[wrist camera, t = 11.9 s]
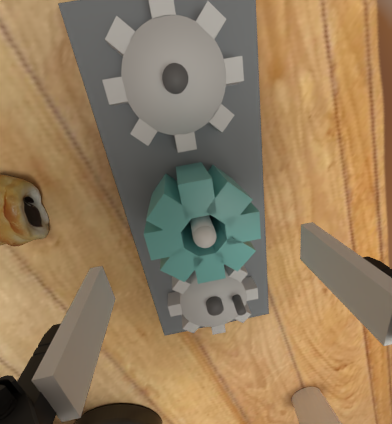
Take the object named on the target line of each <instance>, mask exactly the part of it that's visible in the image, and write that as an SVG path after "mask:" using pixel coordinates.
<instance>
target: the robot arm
mask: <svg viewBox="0 0 392 424" xmlns="http://www.w3.org/2000/svg"><path fill="white" fill-rule="evenodd" d="M300 259H301V260H302V261H303V262H304V263H305V264H306V265H307V267H308V268H309V269H310V270H311V271H312V272H313V273H314V274H315V275H316V276H317V277H318V278H319V279H320V280H321V281H322V282H323V283H324V284H325V285H326V286H327V287H328V288H329V289H330V290H331V292H332V293H333V294H334V295H335V296H336V297H337V298H338V299H339V300H340V301H341V302H342V303H343V304H344V305H345V306H346V307H347V308H348V309H349V310H350V311H351V312H352V313H353V314H354V315H355V316H356V318H357V319H358V320H359V321H360V322H361V323H362V324H363V325H364V326H365V327H366V328H367V329H368V330H369V331H370V332H371V333H372V334H373V335H374V336H375V337H376V338H377V339H378V340H379V341H380V342H381V344H382V345H383V346H386V345H390V344H392V269H390V268H389V267H388V266H386V265H385V264H383V263H382V262H380V261H378V260H376V259H373V258H370V257H363V258H362V257H361V256H360V255H358V254H357V253H355V252H354V251H352V250H351V249H350V248H348V247H347V246H345V245H344V244H342V243H341V242H340V241H338V240H337V239H335V238H334V237H332V236H331V235H330V234H328V233H327V232H325V231H324V230H322V229H321V228H320V227H318V226H317V225H315V224H314V223H313V222H312V223H307V224H302V225H301V256H300ZM114 302H115V296H114V294H113V291H112V289H111V286H110V284H109V281H108V279H107V276H106V274H105V271H104V269H103V266H99V267H94V268H90V269H89V271H88V273H87V275H86V277H85V279H84V281H83V283H82V285H81V287H80V289H79V290H78V292H77V294H76V296H75V298H74V300H73V302H72V304H71V306H70V308H69V310H68V311H67V313H66V315H65V317H64V319H63V321H62V323H61V324H57V325H53V326H52V327H51V328H50V329H49V330H48V331H47V333H46V334H45V335H44V336H43V338H42V340H41V341H40V343H39V345H38V348H36V350H35V352H34V353H33V356H32V357H31V359H30V360H29V362H28V364H27V366H26V367H25V369H24V371H23V373H22V374H21V376H20V378H19V379H18V381H16V380H15V378H14V377H13V376H4V377H1V378H0V424H53V421H54V418H55V416H56V415H57V416H58V418H59V419H60V420H61V422H64V421H69V420H73V419H77V418H79V419H78V420H77V421H76V422H75V423H74V424H162V421H161V419H160V417H159V416H158V415H157V414H156V413H154V412H153V411H151V410H149V409H147V408H144V407H141V406H136V405H127V404H117V405H108V406H103V407H100V408H96V409H94V410H91V411H89V412H87V413H85V414H84V415H82V412H83V408H84V405H85V401H86V398H87V394H88V391H89V388H90V384H91V381H92V377H93V374H94V370H95V367H96V364H97V360H98V357H99V353H100V350H101V346H102V343H103V340H104V336H105V333H106V329H107V326H108V323H109V319H110V316H111V312H112V309H113V305H114ZM81 415H82V416H81Z"/></svg>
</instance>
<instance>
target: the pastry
mask: <svg viewBox="0 0 392 424" xmlns="http://www.w3.org/2000/svg"><path fill="white" fill-rule="evenodd" d="M48 223H49V218H48V214H47V213H46V211H45V208H44V207H43V205H42V204H41V196H40V193H39V190H38V189H37V188H36V187H35V186H34V185H33V184H32V183H30V182H28V181H26V180H23V179H20V178H16V177H12V176H7V175H0V245H3V244H6V243H7V244H8V245H11V246H20V245H23V244H25V243H27V242H29V241H32V240H36V239H44V238H45V237H46V236H47V235H48V232H49V230H48V228H49V225H48Z"/></svg>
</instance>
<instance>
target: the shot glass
mask: <svg viewBox="0 0 392 424" xmlns="http://www.w3.org/2000/svg"><path fill="white" fill-rule="evenodd" d="M292 403H293V406H294V409H295V412H296V415H297V418H298V421H299V424H342V423H341V422H340V420H339V419H338V417H337V416H336V414H335V413H334V411H333V409H332V408H331V406H330V405H329V403H328V402H327V400H326V399H325V397H324V395H323V394H322V392H321V391H320V389H318V388H316V387H307V388H303V389H301V390H299V391H297V392H296V393H295V394H294V395H293V397H292Z"/></svg>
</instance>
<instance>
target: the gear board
mask: <svg viewBox="0 0 392 424" xmlns="http://www.w3.org/2000/svg"><path fill="white" fill-rule="evenodd" d="M58 5H59V8H60V11H61V14H62V17H63V20H64V23H65V27H66V30H67V33H68V36H69V39H70V42H71V45H72V48H73V51H74V55H75V58H76V61H77V64H78V67H79V70H80V73H81V76H82V79H83V83H84V86H85V89H86V92H87V95H88V98H89V101H90V104H91V108H92V111H93V114H94V117H95V120H96V123H97V126H98V129H99V132H100V136H101V139H102V142H103V145H104V148H105V151H106V154H107V157H108V161H109V164H110V167H111V170H112V173H113V176H114V179H115V182H116V185H117V189H118V192H119V195H120V198H121V201H122V204H123V207H124V210H125V214H126V217H127V220H128V223H129V226H130V229H131V232H132V235H133V238H134V242H135V245H136V248H137V251H138V254H139V257H140V260H141V263H142V266H143V270H144V273H145V276H146V279H147V282H148V285H149V288H150V291H151V295H152V298H153V301H154V304H155V307H156V310H157V313H158V316H159V319H160V323H161V326H162V329H163V332H164V335H170V334H175V333H179V332H184V331H189V332H192V333H194V332H195V331H196V330H197V329H198V328H203V327H211V328H212V333H213V335H214V334H219V333H223V332H226V331H225V324H226V323H228V322H232V321H236V320H238V321H240V322H242V323H243V322H244V321H245V320H246V319H247V318H251V317H256V316H260V315H265V314H269V309H268V285H267V261H266V237H265V213H264V189H263V165H262V141H261V118H260V94H259V70H258V46H257V22H256V0H77V1H71V2H64V3H58ZM198 162H201V163H202V164H203V166H204V167H205V169H206V170H207V171H209V169H210V168H211V166H212V165H214V166H216V167H217V168H218V169H220V170H221V171H222V172H224V173H225V174H227V175H228V176H229V177H231V178H232V179H233V180H234V181H235V182H236V183H237V184H238V185H239V186H240V187H241V188H242V189H243V190H244V191H245V192H246V193H247V194H248V195H249V196H250V197H251V198H252V199H253V200H252V201H251V203H252V204H253V205H254V206H255V207H256V208H257V209H258V210H259V212H260V231H261V239H257V240H252V241H250V242H251V244H252V245H253V247H254V248H255V250H256V252H255V253H254V254H253V255H252V256H251V257H250V258H249V259H248V261H247V262H246V263H245V264H244V265H243V266H242V267H241V268H240V269H239V271H238V272H237V271H236V270H234V269H232V268H230V267H228V266H227V265H225V264H224V269H225V276H226V278H224V279H219V280H215V281H210V282H205V283H200V284H198V282H197V277H196V272H195V270H194V272H193V273H192V274H191V275H190V276H189V278H188V279H187V280H186V281H185V282H183V281H181V280H179V279H177V278H175V277H173V276H171V275H169V274H167V273H165V272H163V271H161V270H160V262H161V259H156V260H151V258H150V254H149V251H148V248H147V244H146V241H145V237H144V229H145V225H146V217H147V213H148V208H149V204H150V200H151V196H152V193H153V191H154V190H155V188H156V187H157V185H158V184H159V182H160V181H161V179H162V178H163V176H164V175H165V173H166V174H167V175H169V176H170V177H172V178H173V179H175V180H176V181H177V173H176V167H177V166H182V165H187V164H193V163H198ZM189 222H190V224H191V230H192V235H193V240H194V242H195V244H196V245H197V246H199V247H201V248H209V247H211V246H212V245H213V244H214V243H215V241H216V232H215V229H214V226H213V224H212V221H211V219H210V216H209V215H207V216H202V217H196V218H191V220H190V221H189Z"/></svg>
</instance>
